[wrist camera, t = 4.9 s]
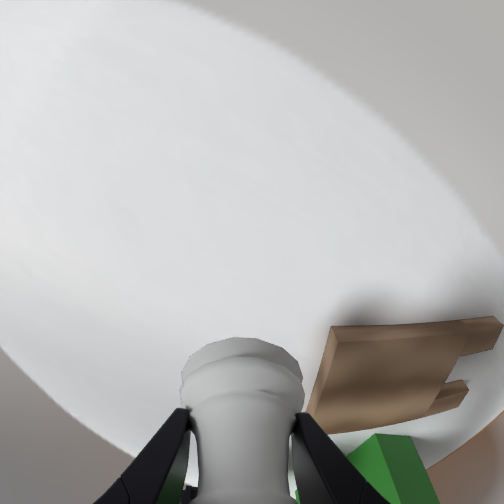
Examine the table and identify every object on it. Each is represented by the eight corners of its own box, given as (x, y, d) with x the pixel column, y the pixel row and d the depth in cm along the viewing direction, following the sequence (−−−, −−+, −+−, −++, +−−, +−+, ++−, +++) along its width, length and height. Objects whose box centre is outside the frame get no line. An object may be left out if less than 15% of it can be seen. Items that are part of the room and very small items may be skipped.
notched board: (451, 396, 26) (457, 406, 24) (302, 421, 25) (305, 436, 23) (493, 316, 22) (503, 325, 20) (330, 326, 21) (338, 342, 19)
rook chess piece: (169, 334, 10) (105, 563, 2) (299, 320, 9) (366, 567, 2) (198, 413, 11) (181, 583, 4) (301, 404, 11) (335, 577, 3)
